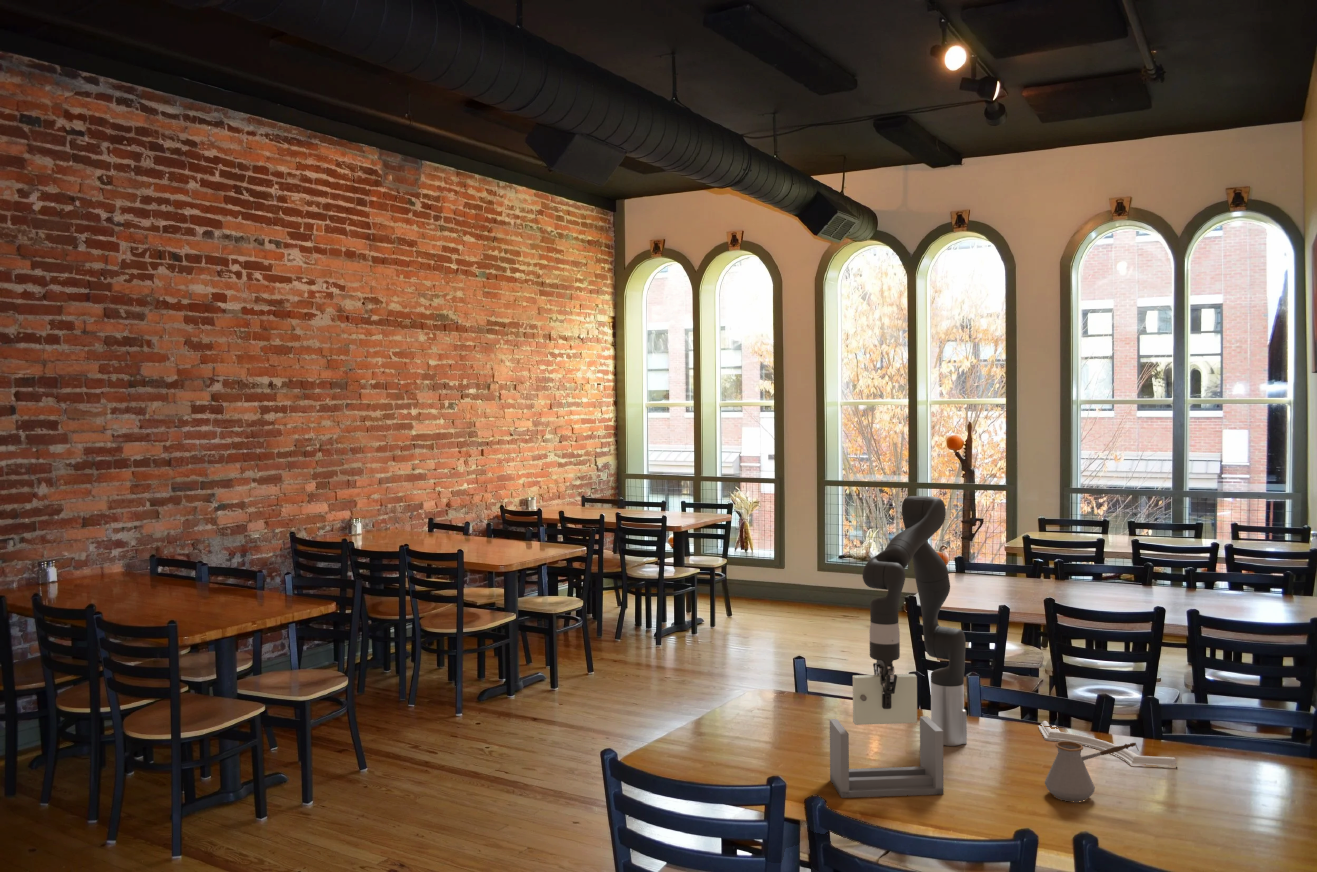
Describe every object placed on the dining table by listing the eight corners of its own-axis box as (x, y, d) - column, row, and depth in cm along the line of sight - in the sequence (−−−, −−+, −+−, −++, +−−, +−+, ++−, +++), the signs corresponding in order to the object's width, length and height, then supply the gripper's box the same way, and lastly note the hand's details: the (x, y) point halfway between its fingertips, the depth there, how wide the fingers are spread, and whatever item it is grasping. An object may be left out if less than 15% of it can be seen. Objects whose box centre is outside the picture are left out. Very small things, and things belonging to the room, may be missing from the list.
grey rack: (927, 776, 256) (927, 716, 256) (943, 794, 244) (943, 730, 244) (830, 779, 255) (829, 719, 255) (841, 797, 243) (840, 733, 243)
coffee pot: (1045, 802, 239) (1045, 741, 238) (1043, 785, 249) (1043, 727, 249) (1142, 813, 231) (1141, 750, 231) (1136, 795, 242) (1135, 735, 242)
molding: (1184, 768, 262) (1184, 757, 262) (1160, 777, 255) (1160, 766, 255) (1045, 727, 297) (1045, 717, 297) (1021, 734, 291) (1021, 724, 291)
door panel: (914, 719, 251) (913, 673, 251) (918, 724, 248) (918, 677, 247) (853, 721, 250) (852, 675, 250) (856, 725, 247) (855, 678, 247)
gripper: (907, 645, 242) (907, 714, 243) (891, 633, 256) (891, 698, 256) (877, 646, 242) (878, 715, 242) (862, 633, 256) (863, 699, 256)
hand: (885, 706), depth 249 cm, fingers closed on door panel, 2 cm apart
